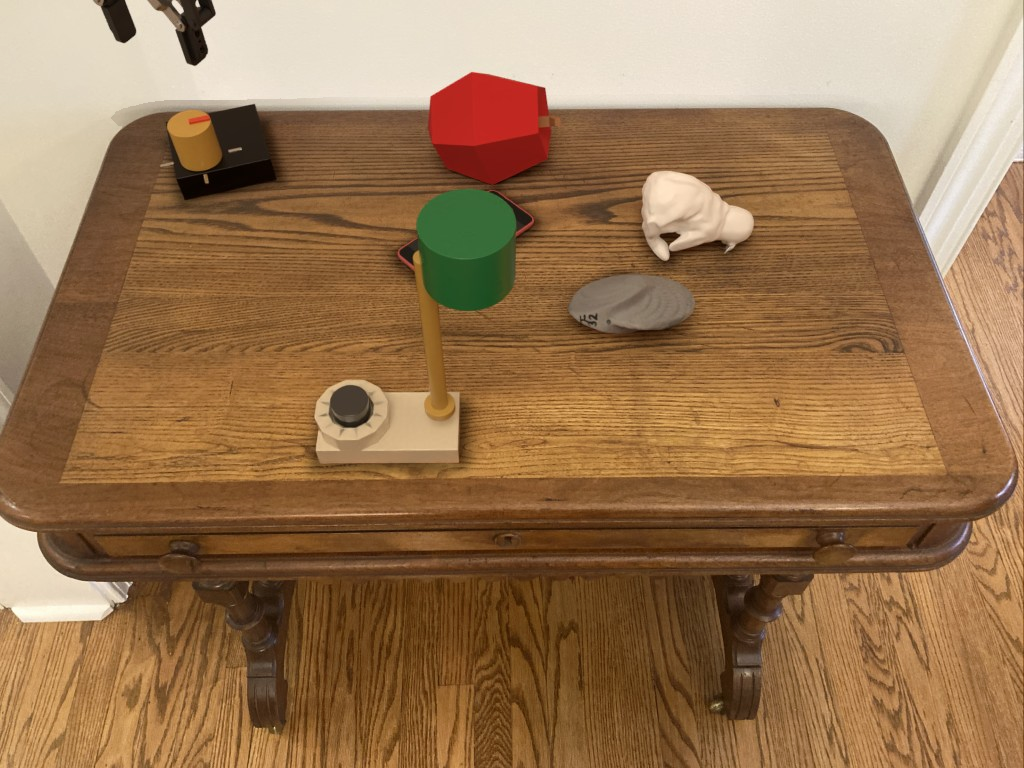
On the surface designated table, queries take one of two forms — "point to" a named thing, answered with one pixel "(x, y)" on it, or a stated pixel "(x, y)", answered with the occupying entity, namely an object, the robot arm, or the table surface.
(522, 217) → the smartphone
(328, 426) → the lamp base
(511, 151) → the apple
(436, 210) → the lamp
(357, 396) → the lamp switch
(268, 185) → the table surface
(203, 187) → the panel
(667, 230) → the cream figurine
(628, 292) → the seashell
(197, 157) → the dimmer knob
